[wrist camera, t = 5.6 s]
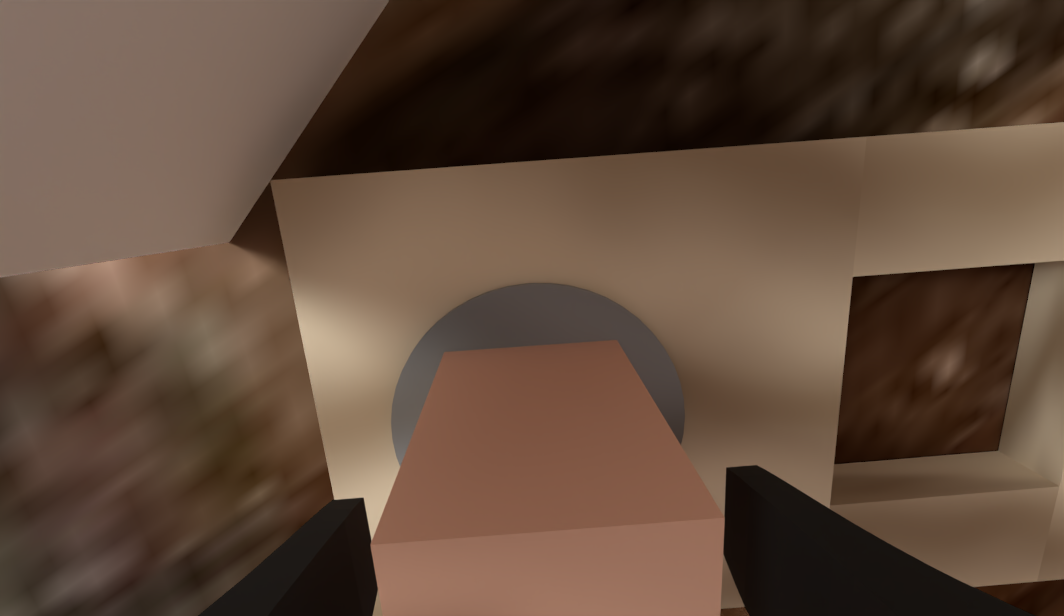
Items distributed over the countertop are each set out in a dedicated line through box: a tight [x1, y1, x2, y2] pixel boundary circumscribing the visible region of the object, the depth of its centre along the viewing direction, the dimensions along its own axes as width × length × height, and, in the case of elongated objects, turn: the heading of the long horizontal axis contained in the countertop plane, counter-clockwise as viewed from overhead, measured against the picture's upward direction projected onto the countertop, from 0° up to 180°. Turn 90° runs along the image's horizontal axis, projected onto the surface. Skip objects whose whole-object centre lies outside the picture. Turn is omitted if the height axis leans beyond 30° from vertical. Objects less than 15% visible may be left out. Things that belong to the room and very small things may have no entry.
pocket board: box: [270, 122, 1064, 616], centre depth 15 cm, size 14×24×2 cm, turn 94°
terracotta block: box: [370, 340, 725, 616], centre depth 10 cm, size 4×4×7 cm
